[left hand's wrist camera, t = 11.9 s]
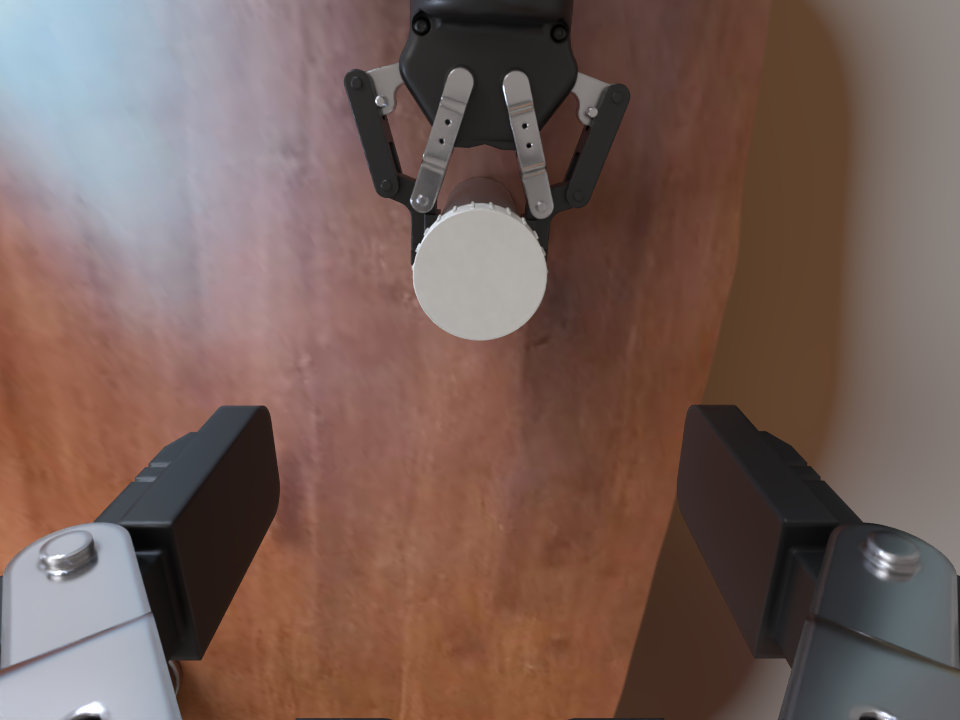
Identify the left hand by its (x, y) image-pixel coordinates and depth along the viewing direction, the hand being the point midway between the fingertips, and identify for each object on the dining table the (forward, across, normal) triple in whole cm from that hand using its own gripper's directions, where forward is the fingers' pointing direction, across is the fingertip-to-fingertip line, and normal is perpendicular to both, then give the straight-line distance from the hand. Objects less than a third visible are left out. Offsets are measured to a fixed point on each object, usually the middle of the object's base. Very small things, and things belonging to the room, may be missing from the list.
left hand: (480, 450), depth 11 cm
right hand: (+23, 0, -3) cm, 23 cm away
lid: (+13, 0, 0) cm, 13 cm away
